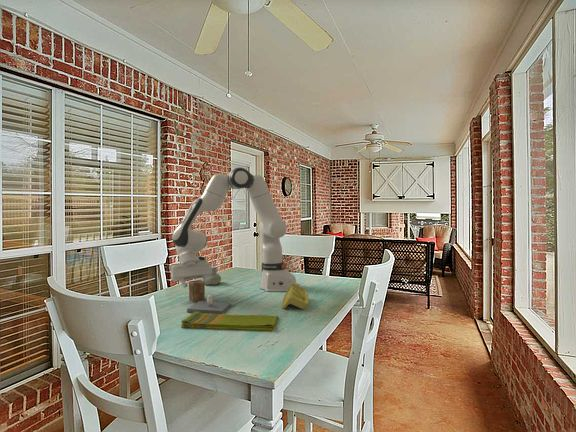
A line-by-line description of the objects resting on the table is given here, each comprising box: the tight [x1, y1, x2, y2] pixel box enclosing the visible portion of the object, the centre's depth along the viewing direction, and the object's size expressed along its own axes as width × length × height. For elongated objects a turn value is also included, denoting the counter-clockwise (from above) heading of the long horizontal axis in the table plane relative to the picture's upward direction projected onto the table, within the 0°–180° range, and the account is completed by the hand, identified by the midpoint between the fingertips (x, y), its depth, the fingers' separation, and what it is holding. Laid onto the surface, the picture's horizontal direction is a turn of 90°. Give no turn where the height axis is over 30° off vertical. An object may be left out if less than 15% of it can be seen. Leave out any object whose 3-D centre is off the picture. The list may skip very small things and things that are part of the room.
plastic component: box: [281, 283, 310, 310], centre depth 159 cm, size 20×7×10 cm
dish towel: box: [180, 312, 279, 332], centre depth 134 cm, size 15×36×3 cm, turn 83°
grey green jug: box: [201, 265, 222, 286], centre depth 197 cm, size 11×8×10 cm
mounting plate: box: [186, 294, 233, 314], centre depth 150 cm, size 16×12×6 cm
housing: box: [188, 279, 206, 303], centre depth 164 cm, size 6×6×9 cm
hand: (195, 285), depth 166 cm, fingers open, 8 cm apart
